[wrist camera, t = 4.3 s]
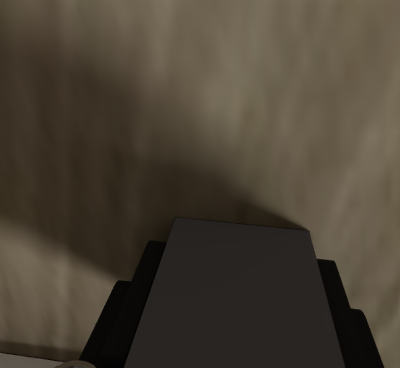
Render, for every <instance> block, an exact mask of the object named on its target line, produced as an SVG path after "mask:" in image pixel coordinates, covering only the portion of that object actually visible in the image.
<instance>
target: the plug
mask: <svg viewBox="0 0 400 368" xmlns="http://www.w3.org/2000/svg"><path fill="white" fill-rule="evenodd" d="M124 368H345V365H344V361H343V357H342V354H341V350H340V346H339V342H338V339H337V335H336V331H335V327H334V323H333V320H332V316H331V312H330V308H329V304H328V301H327V297H326V293H325V289H324V286H323V282H322V278H321V274H320V270H319V267H318V263H317V259H316V255H315V252H314V248H313V244H312V240H311V236H310V233H309V231H304V230H294V229H284V228H275V227H265V226H255V225H246V224H236V223H226V222H216V221H207V220H197V219H187V218H178V217H176V218H175V221H174V224H173V227H172V229H171V232H170V235H169V238H168V241H167V244H166V247H165V250H164V253H163V256H162V258H161V261H160V264H159V267H158V270H157V273H156V276H155V279H154V282H153V285H152V287H151V290H150V293H149V296H148V299H147V302H146V305H145V308H144V311H143V314H142V316H141V319H140V322H139V325H138V328H137V331H136V334H135V337H134V340H133V343H132V345H131V348H130V351H129V354H128V357H127V360H126V363H125V366H124Z"/></svg>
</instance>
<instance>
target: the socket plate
mask: <svg viewBox="0 0 400 368" xmlns="http://www.w3.org/2000/svg"><path fill="white" fill-rule="evenodd" d="M62 363H65V362H58V361H51V360H45V359H38V358H31V357H24V356H17V355H11V354H4V353H0V368H55V367H56V366H58V365H60V364H62Z"/></svg>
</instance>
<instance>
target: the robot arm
mask: <svg viewBox="0 0 400 368" xmlns="http://www.w3.org/2000/svg"><path fill="white" fill-rule="evenodd" d="M166 244H167V242H159V241H148V243H147V246H146V248H145V250H144V253H143V255H142V257H141V260H140V262H139V265H138V267H137V269H136V272H135V274H134V276H133V279H132V281H131V282H130V281H121V280H118V281H117V282H116V284H115V285H114V287H113V289H112V292H111V294H110V296H109V298H108V300H107V302H106V304H105V306H104V308H103V310H102V312H101V315H100V317H99V319H98V321H97V323H96V325H95V327H94V329H93V331H92V333H91V335H90V338H89V340H88V342H87V344H86V346H85V348H84V350H83V352H82V354H81V356H80V358H79V360H74V361H68V362H65V363H62V364H60V365H58V366H56V367H55V368H124V366H125V363H126V360H127V357H128V354H129V351H130V348H131V345H132V343H133V340H134V337H135V334H136V331H137V328H138V325H139V322H140V319H141V316H142V314H143V311H144V308H145V305H146V302H147V299H148V296H149V293H150V290H151V287H152V285H153V282H154V279H155V276H156V273H157V270H158V267H159V264H160V261H161V258H162V256H163V253H164V250H165V247H166ZM317 263H318V267H319V270H320V274H321V278H322V282H323V286H324V289H325V293H326V297H327V301H328V304H329V308H330V312H331V316H332V320H333V323H334V327H335V331H336V335H337V339H338V342H339V346H340V350H341V354H342V357H343V361H344V365H345V368H384V365H383V363H382V360H381V357H380V355H379V352H378V349H377V347H376V344H375V341H374V339H373V336H372V333H371V330H370V328H369V325H368V322H367V320H366V317H365V315H364V313H363V312H362V311H361V310H359V309H351V308H350V305H349V302H348V299H347V296H346V293H345V290H344V287H343V284H342V281H341V278H340V275H339V272H338V269H337V266H336V263H335V262H334V261H332V260H323V259H317Z"/></svg>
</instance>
